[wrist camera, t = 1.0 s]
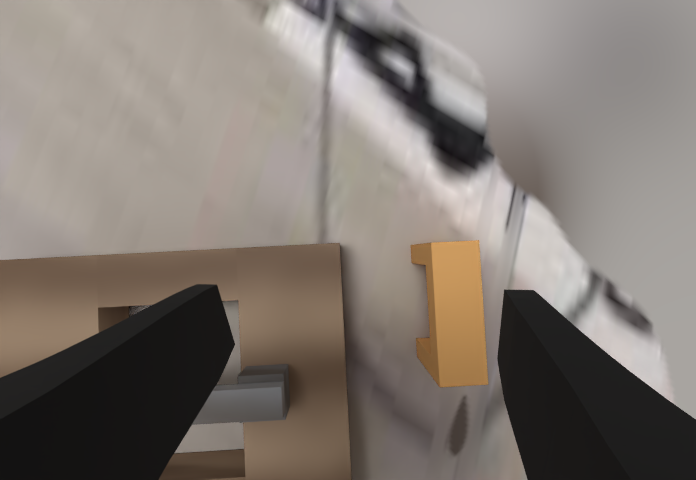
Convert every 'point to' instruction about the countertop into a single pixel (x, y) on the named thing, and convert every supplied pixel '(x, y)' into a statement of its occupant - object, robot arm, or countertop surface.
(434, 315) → the orange c-shaped bracket
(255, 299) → the hook board
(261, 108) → the countertop surface
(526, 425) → the robot arm
